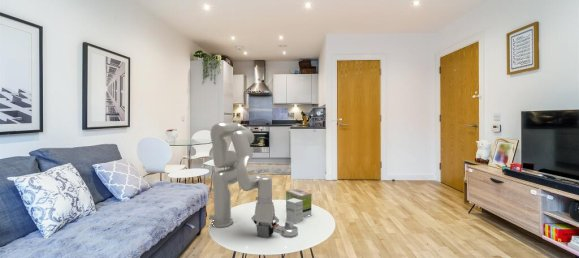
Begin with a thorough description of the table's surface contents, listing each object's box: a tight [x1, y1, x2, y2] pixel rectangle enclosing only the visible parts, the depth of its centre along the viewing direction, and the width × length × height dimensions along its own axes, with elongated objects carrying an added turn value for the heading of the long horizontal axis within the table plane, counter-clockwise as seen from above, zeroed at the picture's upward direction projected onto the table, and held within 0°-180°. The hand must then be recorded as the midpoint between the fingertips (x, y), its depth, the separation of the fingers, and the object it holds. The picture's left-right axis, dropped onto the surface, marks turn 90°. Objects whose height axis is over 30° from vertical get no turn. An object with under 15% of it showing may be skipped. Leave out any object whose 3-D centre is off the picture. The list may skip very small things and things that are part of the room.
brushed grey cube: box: [256, 222, 272, 239], centre depth 140 cm, size 6×6×6 cm
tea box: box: [285, 188, 312, 218], centre depth 172 cm, size 15×10×15 cm, turn 38°
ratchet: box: [273, 220, 299, 239], centre depth 145 cm, size 22×9×6 cm, turn 54°
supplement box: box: [285, 198, 304, 224], centre depth 160 cm, size 7×7×13 cm
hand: (265, 233), depth 140 cm, fingers closed on brushed grey cube, 6 cm apart
